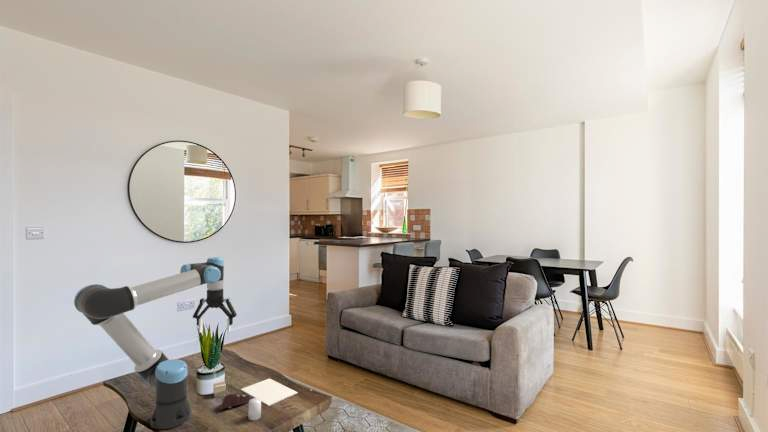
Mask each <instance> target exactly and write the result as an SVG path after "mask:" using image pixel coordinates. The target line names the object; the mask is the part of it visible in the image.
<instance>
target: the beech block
mask: <svg viewBox="0 0 768 432" xmlns="http://www.w3.org/2000/svg"><path fill="white" fill-rule="evenodd" d="M225 395H227V385H226V381H225V380H223V381H218V382H213V398H214V399H215V398H220V397H224V396H225Z"/></svg>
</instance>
